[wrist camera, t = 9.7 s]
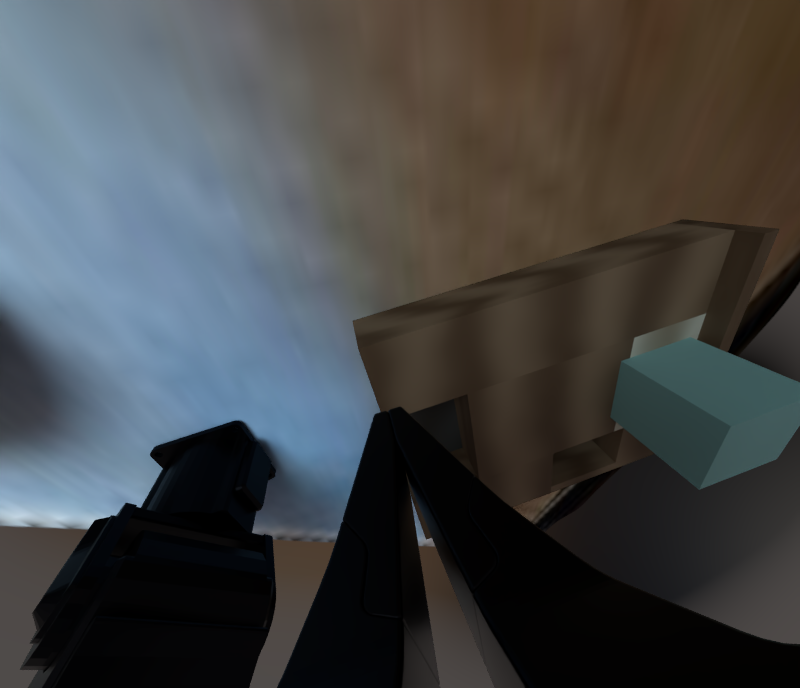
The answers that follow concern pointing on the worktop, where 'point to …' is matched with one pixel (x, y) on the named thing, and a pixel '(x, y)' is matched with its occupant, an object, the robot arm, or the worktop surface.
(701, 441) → the teal block
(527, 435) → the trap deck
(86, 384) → the worktop surface
